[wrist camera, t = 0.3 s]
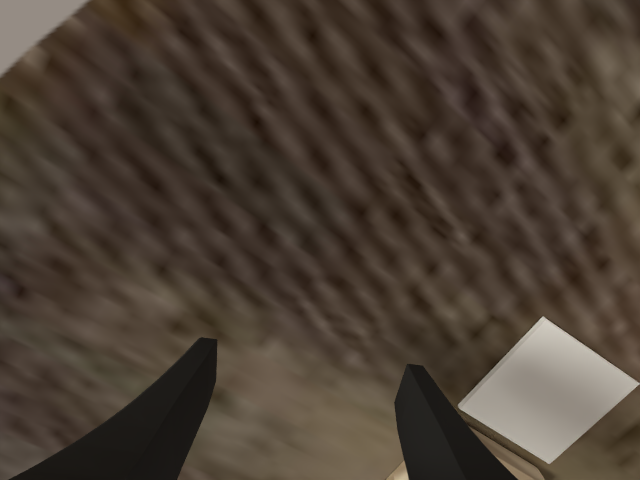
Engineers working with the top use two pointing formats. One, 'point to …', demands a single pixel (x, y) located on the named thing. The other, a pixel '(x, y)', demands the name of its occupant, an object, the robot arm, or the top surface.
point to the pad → (547, 391)
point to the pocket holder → (516, 465)
